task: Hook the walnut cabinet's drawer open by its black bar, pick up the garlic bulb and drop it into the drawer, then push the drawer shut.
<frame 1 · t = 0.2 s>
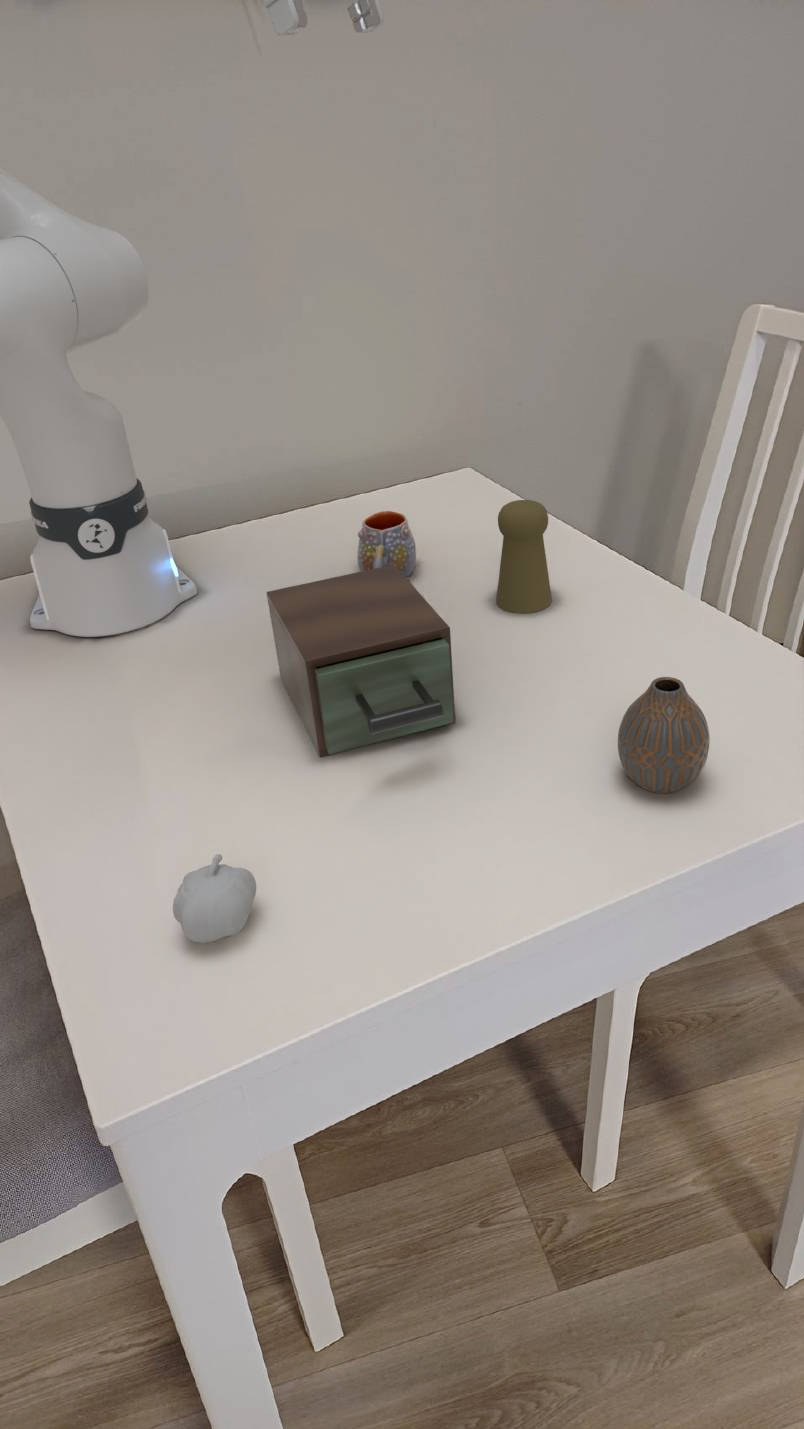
hand: (334, 30, 69), 52 cm above the table, tool tilted 20°, fingers open, 8 cm apart
drawer: (373, 677, 87), point 5 cm above the table, slide at 0.0 cm
cabinet: (364, 700, 93), on the table
garlic: (220, 927, 69), on the table
olive green pawn: (524, 602, 108), on the table
vase: (660, 780, 79), on the table
grey decorated pot: (385, 583, 115), on the table
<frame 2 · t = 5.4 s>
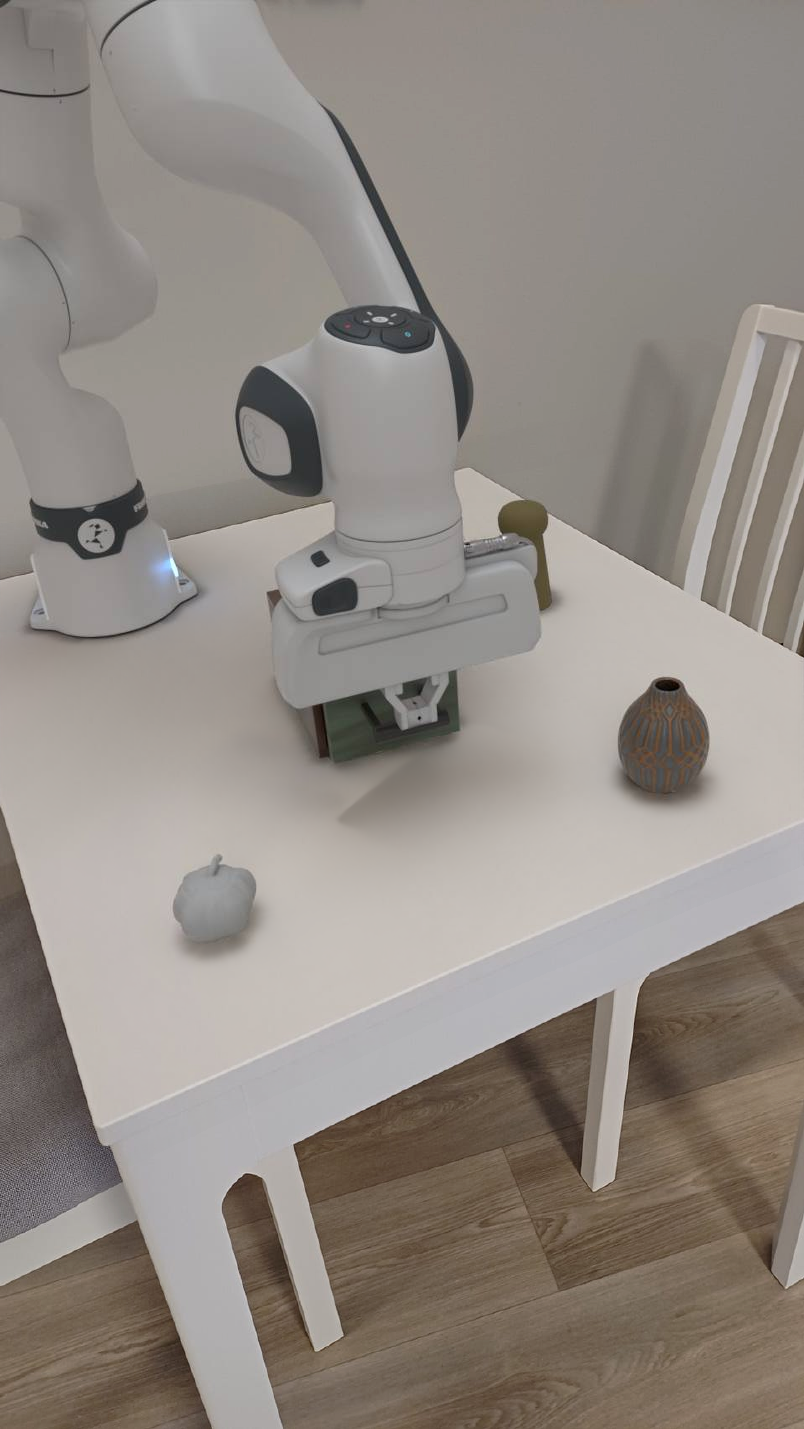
hand: (416, 722, 77), 6 cm above the table, tool pointing down, fingers closed, pressing on drawer
drawer: (378, 685, 85), point 5 cm above the table, slide at 1.5 cm, touching gripper
everything else where it was.
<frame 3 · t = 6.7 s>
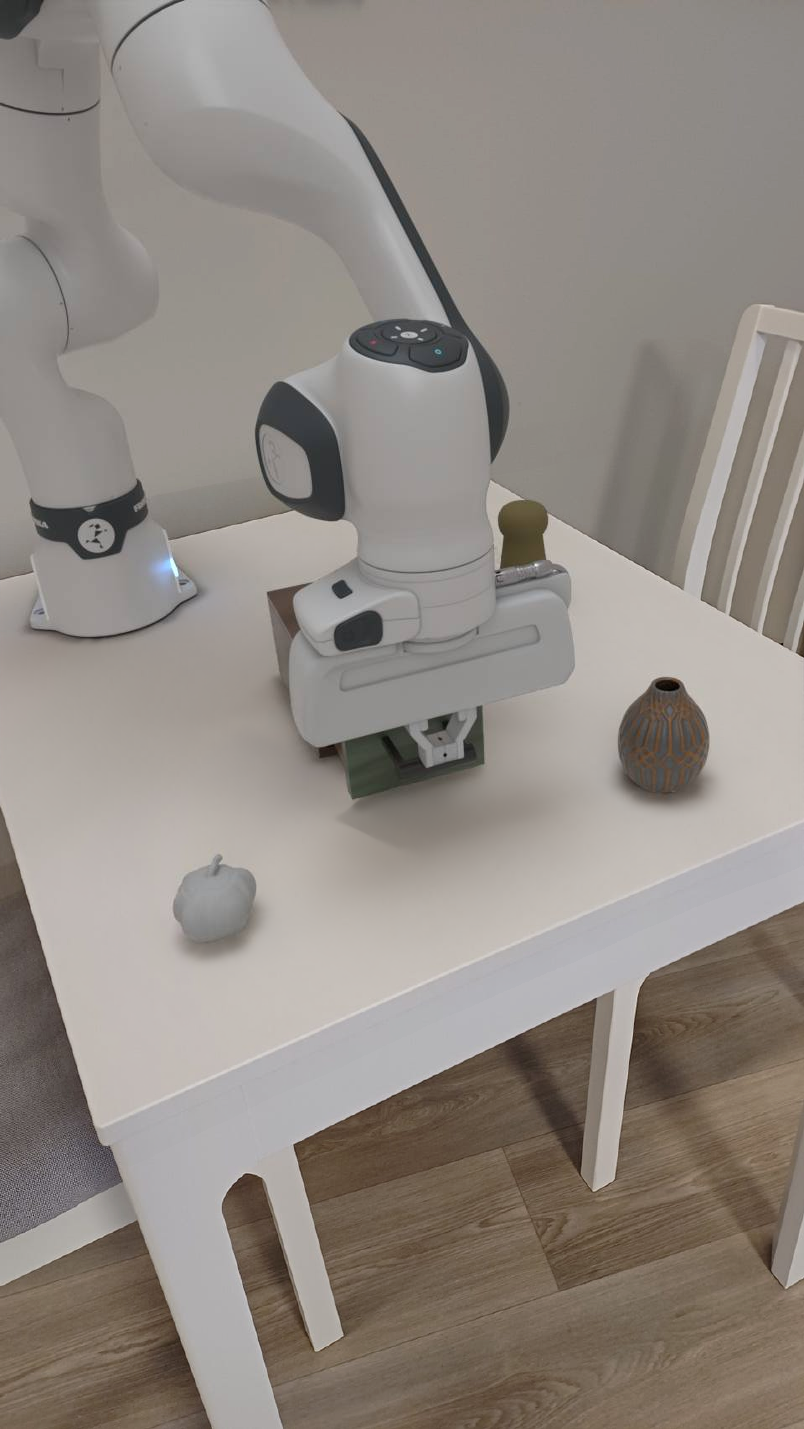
hand: (441, 759, 73), 6 cm above the table, tool pointing down, fingers closed, pressing on drawer
drawer: (399, 716, 81), point 5 cm above the table, slide at 6.9 cm, touching gripper
everything else where it was.
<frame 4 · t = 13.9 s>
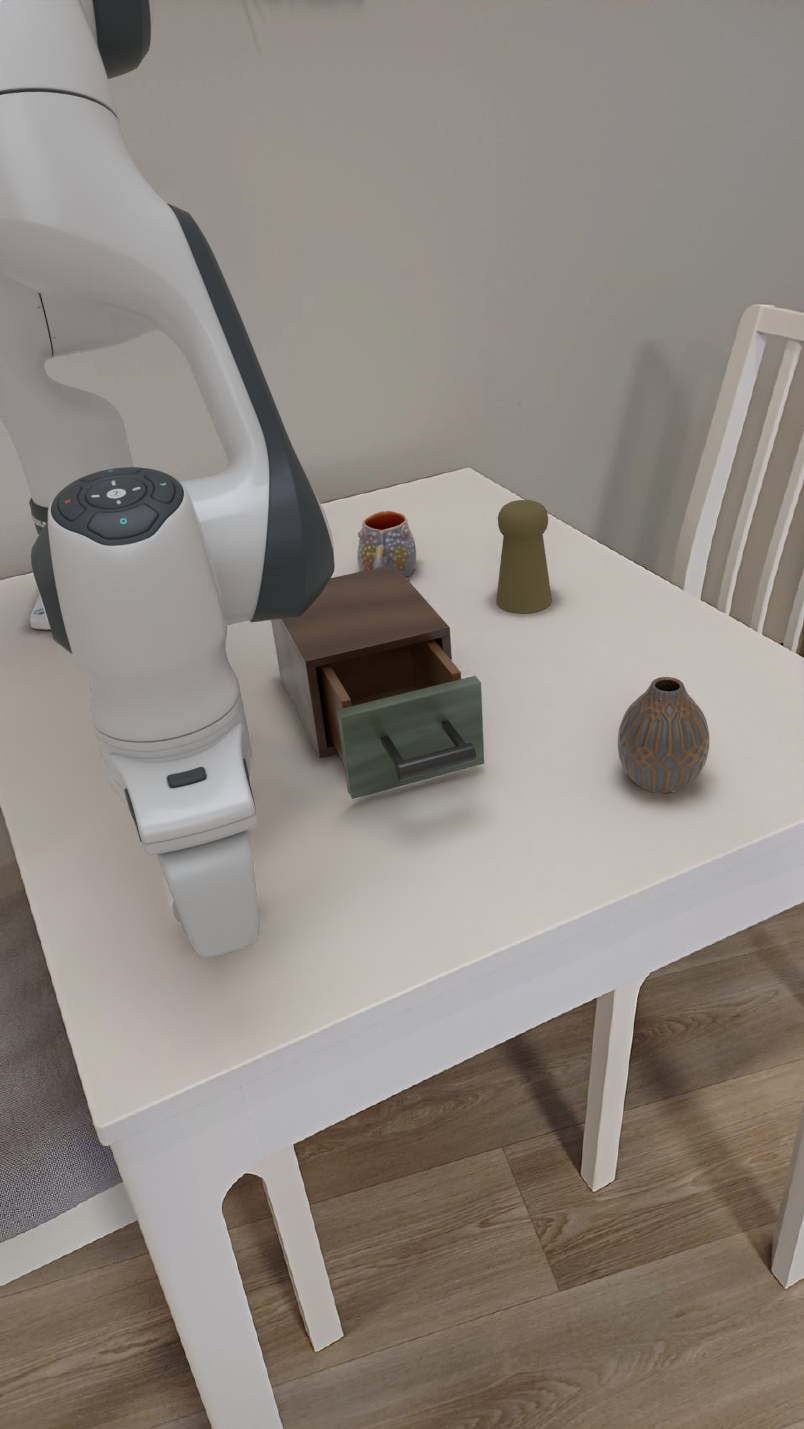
hand: (216, 908, 68), 2 cm above the table, tool pointing down, fingers closed on garlic, 5 cm apart
drawer: (398, 715, 81), point 5 cm above the table, slide at 6.8 cm
garlic: (220, 926, 69), on the table, touching gripper
everything else where it was.
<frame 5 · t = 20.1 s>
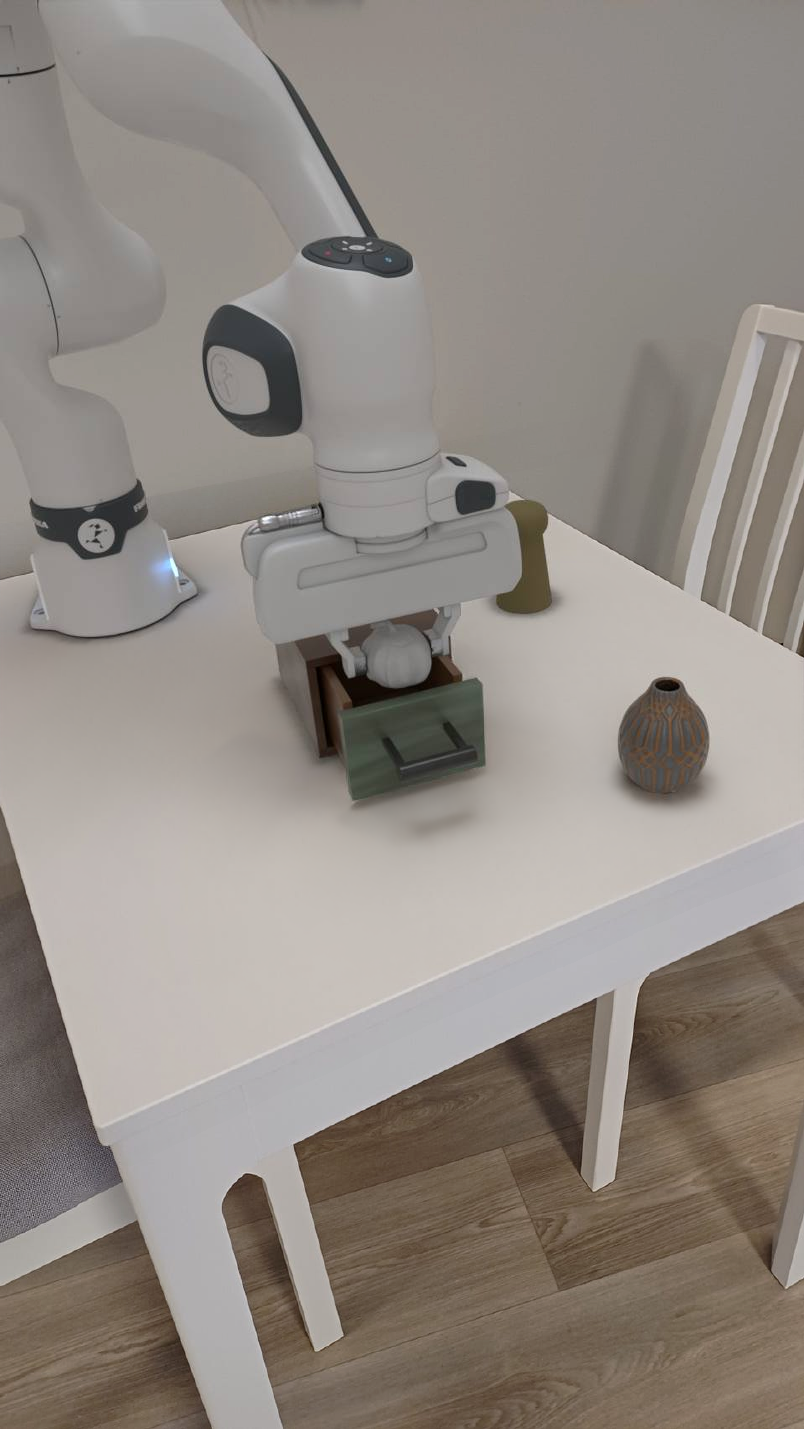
hand: (397, 663, 77), 10 cm above the table, tool pointing down, fingers closed on garlic, 5 cm apart
drawer: (400, 717, 81), point 5 cm above the table, slide at 7.1 cm, touching garlic
garlic: (398, 683, 78), point 8 cm above the table, touching drawer, gripper
everything else where it was.
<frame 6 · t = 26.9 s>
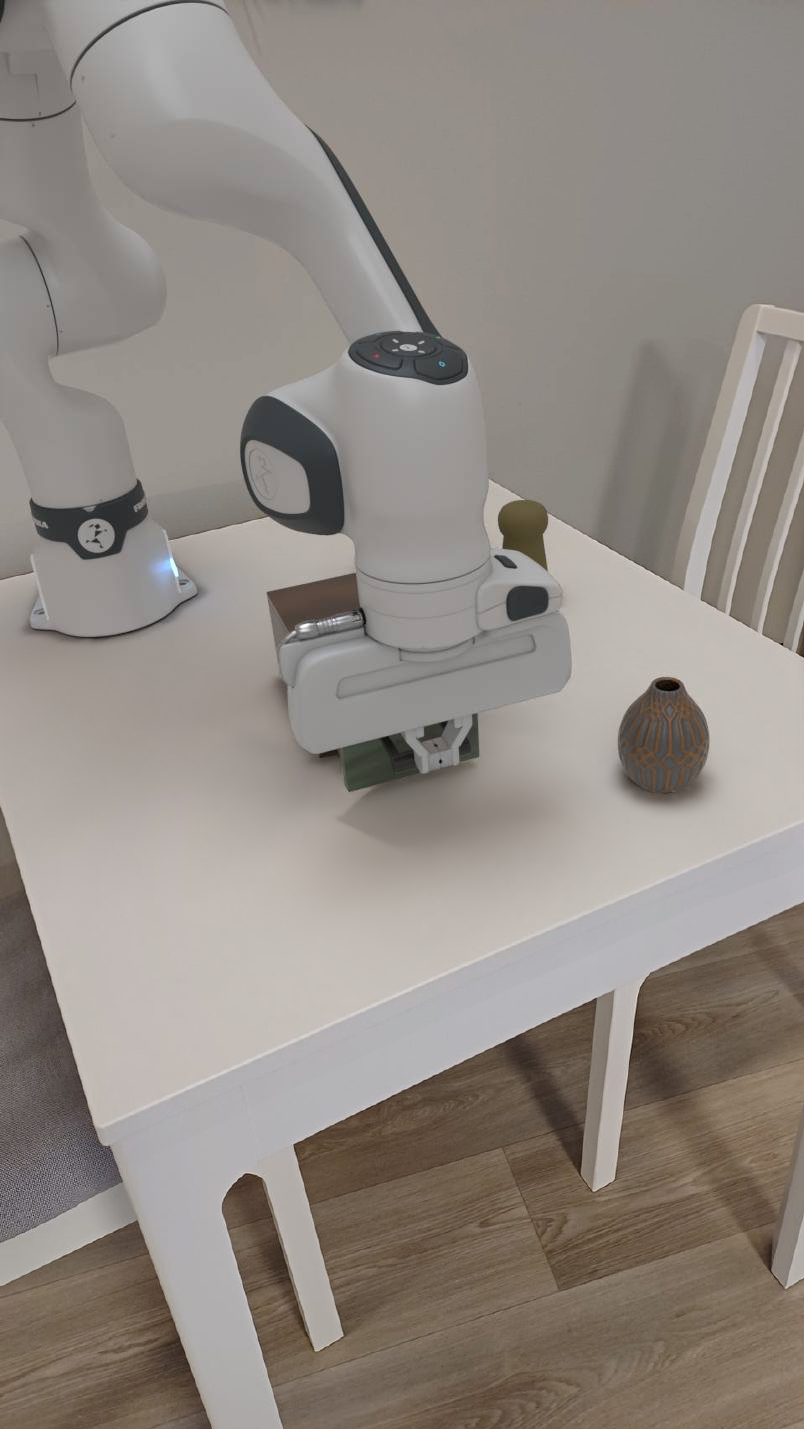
hand: (437, 765, 73), 6 cm above the table, tool pointing down, fingers closed, pressing on drawer
drawer: (394, 709, 82), point 5 cm above the table, slide at 5.8 cm, touching garlic, gripper
garlic: (414, 714, 81), point 5 cm above the table, touching drawer
everything else where it was.
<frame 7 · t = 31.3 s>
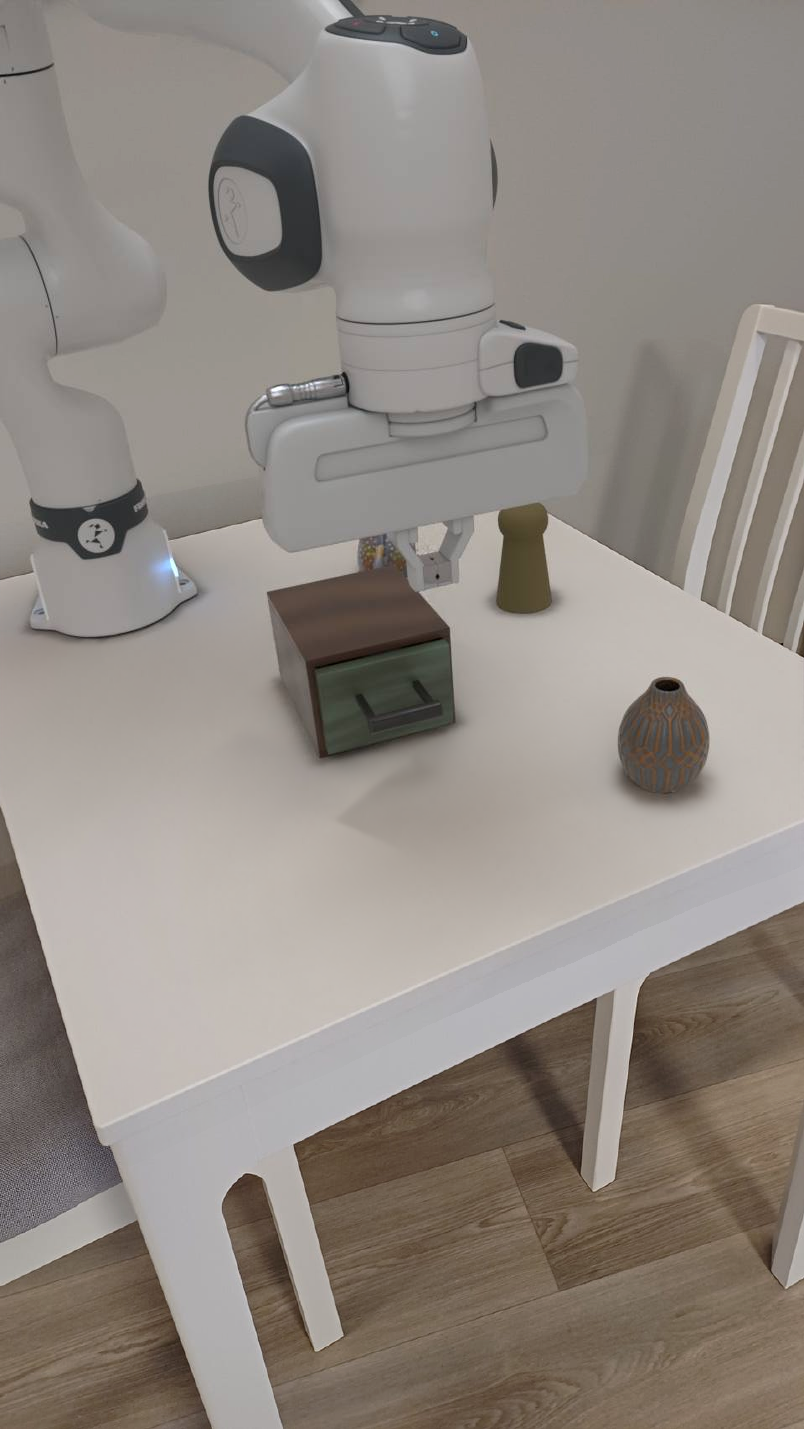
hand: (433, 584, 64), 21 cm above the table, tool pointing down, fingers closed
drawer: (373, 677, 87), point 5 cm above the table, slide at 0.0 cm, touching cabinet, garlic
garlic: (392, 681, 86), point 5 cm above the table, touching drawer
everything else where it was.
at the end: garlic inside the target area in the cabinet (5.6 cm from its centre), point 4.6 cm above the cabinet's base; drawer slide at 0.0 cm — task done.
